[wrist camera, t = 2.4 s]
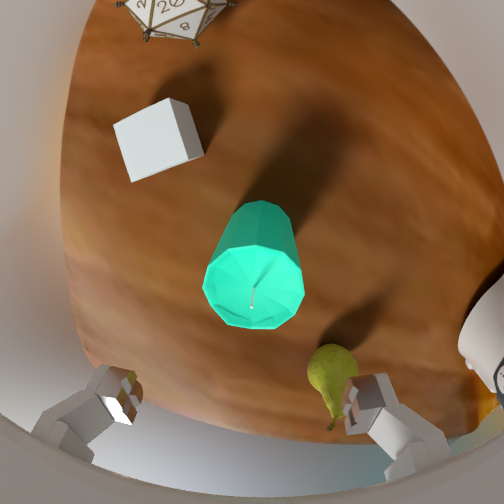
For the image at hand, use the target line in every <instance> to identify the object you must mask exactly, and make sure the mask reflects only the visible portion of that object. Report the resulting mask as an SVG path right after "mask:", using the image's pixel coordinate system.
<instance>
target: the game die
mask: <svg viewBox="0 0 504 504" xmlns="http://www.w3.org/2000/svg"><path fill="white" fill-rule="evenodd" d="M113 6H115V7H121V6H124V7H125V8H126V9H127V10H128V12H129V13H130V14H131V16H132V17H133V18H134V19H135V21H136V22H137V23H138V25H139V26H140V27H141V29H142V30H143V31H144V32H143V43H144V42H147V41H148V40H149V39H150V38H149V37H162V38H174V39H183V40H191V41H193V45H194V46H193V47H196V48H198V49H199V45H200V44H199V41H197V38H198V37H199V36H200V34H201V33H202V32H203V31H204V30H205V29H206V28H207V26H208V25H209V24H210V23H211V22H212V21H213V20H214V19H215V18H216V17H217V16H218V15H219V13H220V12H221V11H222V10H223V9H224V8H225V7H226V6H230V7H234V6H238V4H236V3H235V2H232V1H231V2H228V1H227V0H126V1H125V2H121V1H120V2H117V3H115V4H114V5H113Z"/></svg>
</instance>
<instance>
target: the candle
mask: <svg viewBox="0 0 504 504" xmlns="http://www.w3.org/2000/svg"><path fill="white" fill-rule="evenodd" d="M202 288H203V290H204V293H205V295H206V297H207V299H208V301H209V303H210V305H211V307H212V308H213V309H214V310H215V311H216V312H217V314H218V315H219V316H220V317H221V318H222V319H223V320H224V321H225V322H226V323H227V325H233V326H238V327H244V328H249V329H275V328H277V327H278V326H280V325H281V324H283V323H284V322H285V321H287V320H288V319H290V318H291V317H293V316H294V315H295V313H296V311H297V309H298V307H299V305H300V303H301V301H302V299H303V297H304V295H305V293H304V286H303V279H302V273H301V267H300V262H299V258H298V253H297V248H296V244H295V239H294V235H293V231H292V226H291V222H290V218H289V217H288V216H287V215H286V214H285V212H284V211H283V210H282V209H281V208H280V207H279V206H278V205H275V204H272V203H269V202H266V201H263V200H260V201H255V202H250V203H245V204H244V205H243V206H242V207H240V208H239V209H238V210H237V211H236V212H235V213H234V214H233V215H232V217H231V219H230V221H229V223H228V225H227V227H226V229H225V231H224V233H223V235H222V237H221V239H220V241H219V243H218V246H217V248H216V250H215V252H214V254H213V256H212V258H211V260H210V263H209V265H208V267H207V271H206V275H205V279H204V283H203V286H202Z"/></svg>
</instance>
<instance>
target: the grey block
mask: <svg viewBox="0 0 504 504" xmlns="http://www.w3.org/2000/svg"><path fill="white" fill-rule="evenodd" d="M113 126H114V129H115V133H116V136H117V139H118V143H119V146H120V149H121V152H122V155H123V158H124V162H125V165H126V168H127V171H128V173H129V176H130V179H131V182H134V181H137V180H140V179H142V178H145V177H148V176H150V175H153V174H156V173H158V172H161V171H163V170H166V169H169V168H171V167H174V166H176V165H179V164H182V163H184V162H187V161H190V160H193V159H196V158H198V157H201V156H204V152H203V149H202V146H201V143H200V140H199V137H198V134H197V131H196V127H195V124H194V121H193V118H192V115H191V112H190V109H189V105H188V104H185V103H182V102H180V101H177V100H174V99H171V98H167V99H165V100H162V101H160V102H158V103H156V104H154V105H151V106H149V107H147V108H145V109H143V110H141V111H139V112H137V113H135V114H133V115H131V116H129V117H127V118H125V119H123V120H122V121H120V122H118V123H116V124H114V125H113Z"/></svg>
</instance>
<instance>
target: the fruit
mask: <svg viewBox="0 0 504 504" xmlns="http://www.w3.org/2000/svg"><path fill="white" fill-rule="evenodd" d="M356 376H358V364H357V361H356V359H355V358H354V356H353V355H352V354H351V353H350V352H349V351H348V350H347V349H346V348H344V347H342V346H339V345H337V344H326V345H323V346H321V347H320V348H319V349H317V350H316V351H315V353H314V354H313V355H312V357H311V359H310V362H309V364H308V378H309V380H310V383H311V384H312V385H313V386H314V388H316V389H317V390H318V391H319V392H320V393H321V394H322V396H323V398H324V401H325V403H326V405H327V407H328V408H329V410H330V412H331V415H332V417H334V420H333V423H332V424H331V425H330V426H329V427H328V428H327V430H328V431H331V430H332V429H333V428H334V426H335V423H336V421H337V418H341V417H343V416H344V415H345V414H344V413H342V408H341V396H342V393H343V390H345V389H346V381H347V379H348V378H349V377H356Z"/></svg>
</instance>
